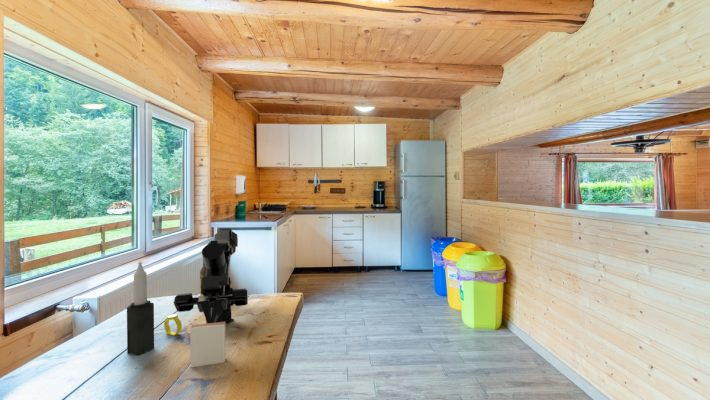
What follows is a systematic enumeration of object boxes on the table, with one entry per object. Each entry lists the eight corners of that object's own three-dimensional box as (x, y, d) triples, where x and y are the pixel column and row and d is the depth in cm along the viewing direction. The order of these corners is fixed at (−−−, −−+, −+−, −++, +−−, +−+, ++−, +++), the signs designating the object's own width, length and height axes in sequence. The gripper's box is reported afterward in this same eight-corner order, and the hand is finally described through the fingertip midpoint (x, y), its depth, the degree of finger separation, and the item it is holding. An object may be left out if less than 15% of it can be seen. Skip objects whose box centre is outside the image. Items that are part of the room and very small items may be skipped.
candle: (156, 347, 85) (155, 260, 85) (138, 356, 81) (137, 264, 80) (143, 344, 87) (142, 259, 86) (125, 352, 82) (124, 263, 82)
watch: (162, 335, 93) (161, 316, 93) (170, 331, 96) (169, 313, 96) (176, 337, 91) (174, 318, 91) (184, 333, 94) (183, 314, 94)
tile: (192, 363, 78) (192, 325, 77) (225, 358, 80) (225, 321, 80) (190, 367, 76) (190, 328, 75) (224, 362, 78) (224, 324, 78)
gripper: (175, 265, 82) (163, 321, 72) (247, 261, 87) (245, 312, 77) (182, 285, 89) (172, 338, 79) (248, 280, 95) (247, 329, 85)
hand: (209, 329), depth 80 cm, fingers closed
